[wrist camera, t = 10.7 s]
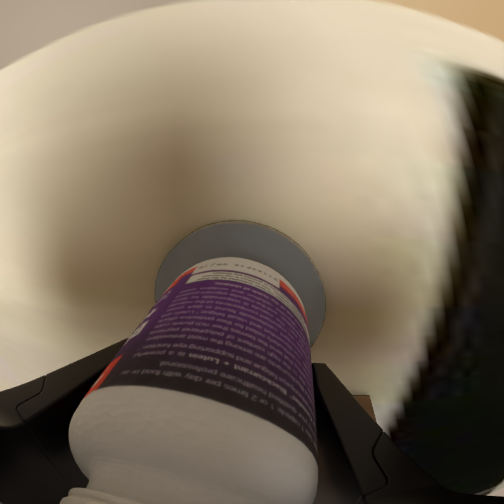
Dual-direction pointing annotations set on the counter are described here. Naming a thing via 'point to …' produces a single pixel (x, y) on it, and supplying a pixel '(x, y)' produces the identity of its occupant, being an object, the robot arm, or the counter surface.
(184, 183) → the counter surface
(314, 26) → the counter surface
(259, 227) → the coaster
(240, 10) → the counter surface
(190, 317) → the pill bottle
